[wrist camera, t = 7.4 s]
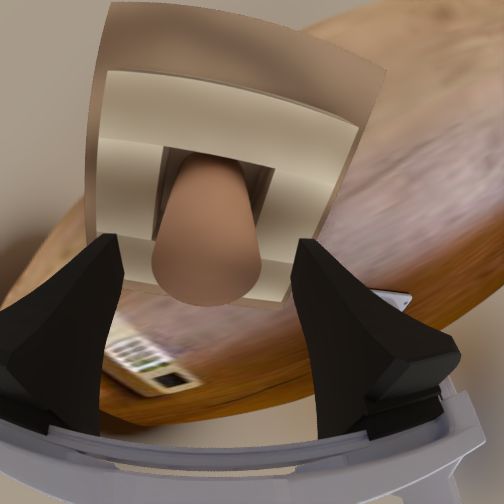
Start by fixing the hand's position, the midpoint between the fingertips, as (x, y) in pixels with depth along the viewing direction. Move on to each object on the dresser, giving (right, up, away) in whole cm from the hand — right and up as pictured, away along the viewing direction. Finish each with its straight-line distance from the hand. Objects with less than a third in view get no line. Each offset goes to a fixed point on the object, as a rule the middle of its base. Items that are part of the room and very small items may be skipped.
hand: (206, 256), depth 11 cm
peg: (-1, +4, +5) cm, 7 cm away
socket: (-1, +5, +6) cm, 8 cm away
